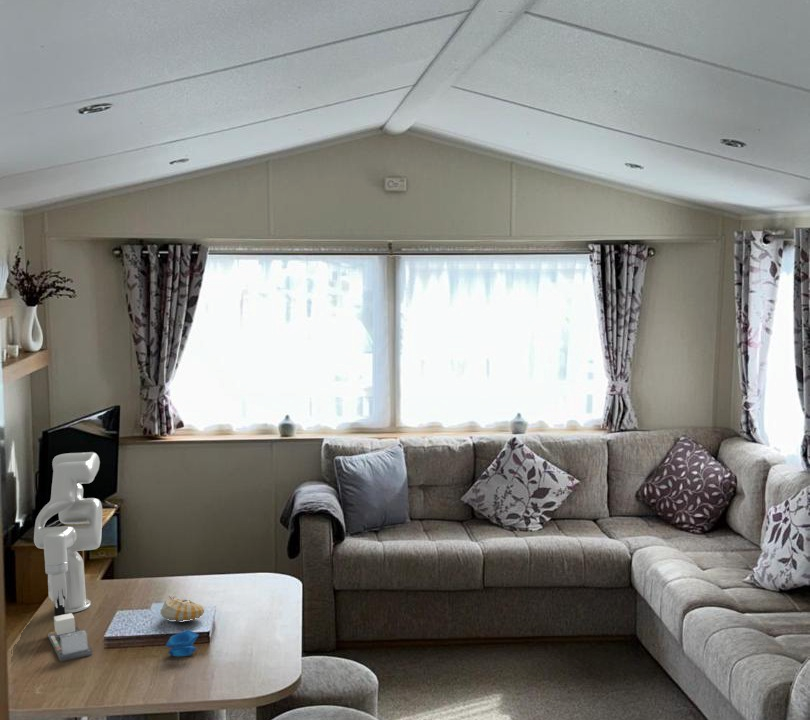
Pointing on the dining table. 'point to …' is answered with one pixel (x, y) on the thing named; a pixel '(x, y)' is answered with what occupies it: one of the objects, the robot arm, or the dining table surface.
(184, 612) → the nautilus
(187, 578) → the dining table surface
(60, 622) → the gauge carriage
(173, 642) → the blue double-lobed piece
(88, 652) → the gauge bench
